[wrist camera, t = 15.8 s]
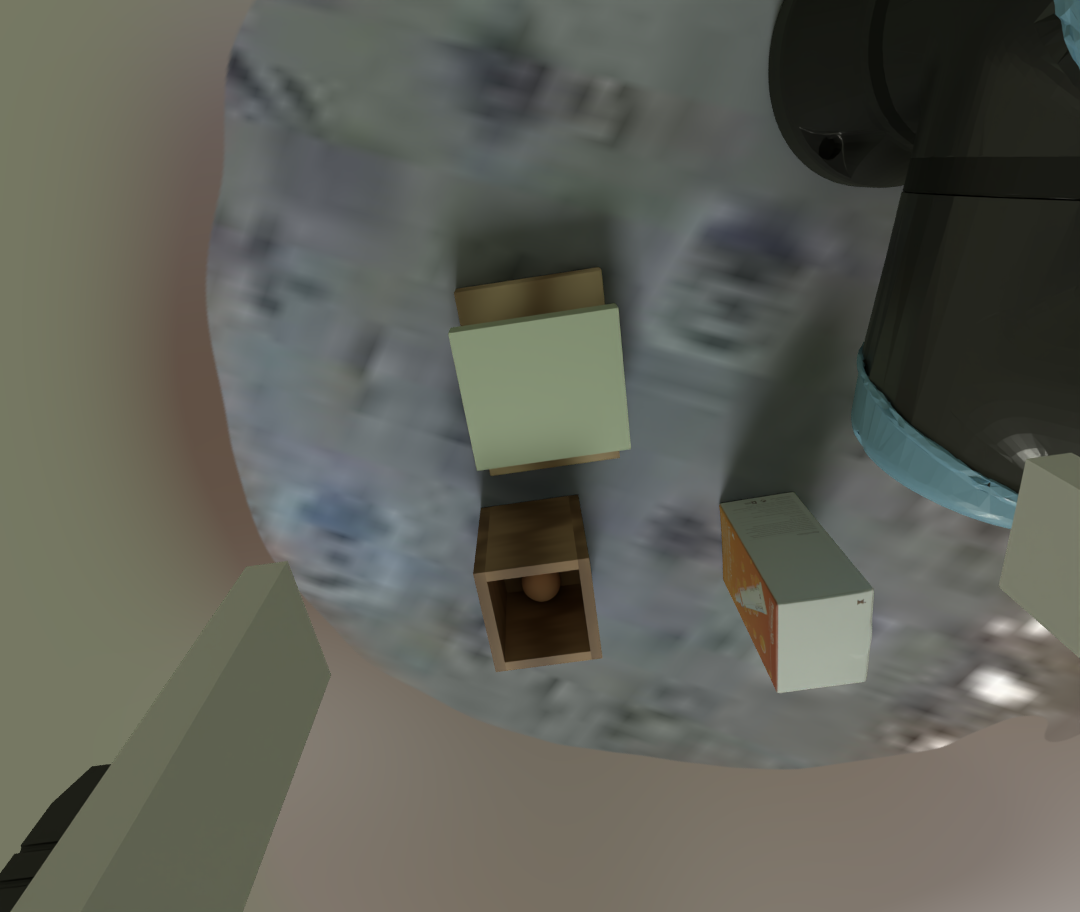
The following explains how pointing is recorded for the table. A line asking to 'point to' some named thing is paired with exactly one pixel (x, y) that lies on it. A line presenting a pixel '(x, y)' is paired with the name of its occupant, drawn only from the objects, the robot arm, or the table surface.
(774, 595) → the small box
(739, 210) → the table surface
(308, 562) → the table surface
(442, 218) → the table surface
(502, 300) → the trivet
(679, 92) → the table surface
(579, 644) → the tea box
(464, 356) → the lid
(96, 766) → the robot arm
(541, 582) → the ball
